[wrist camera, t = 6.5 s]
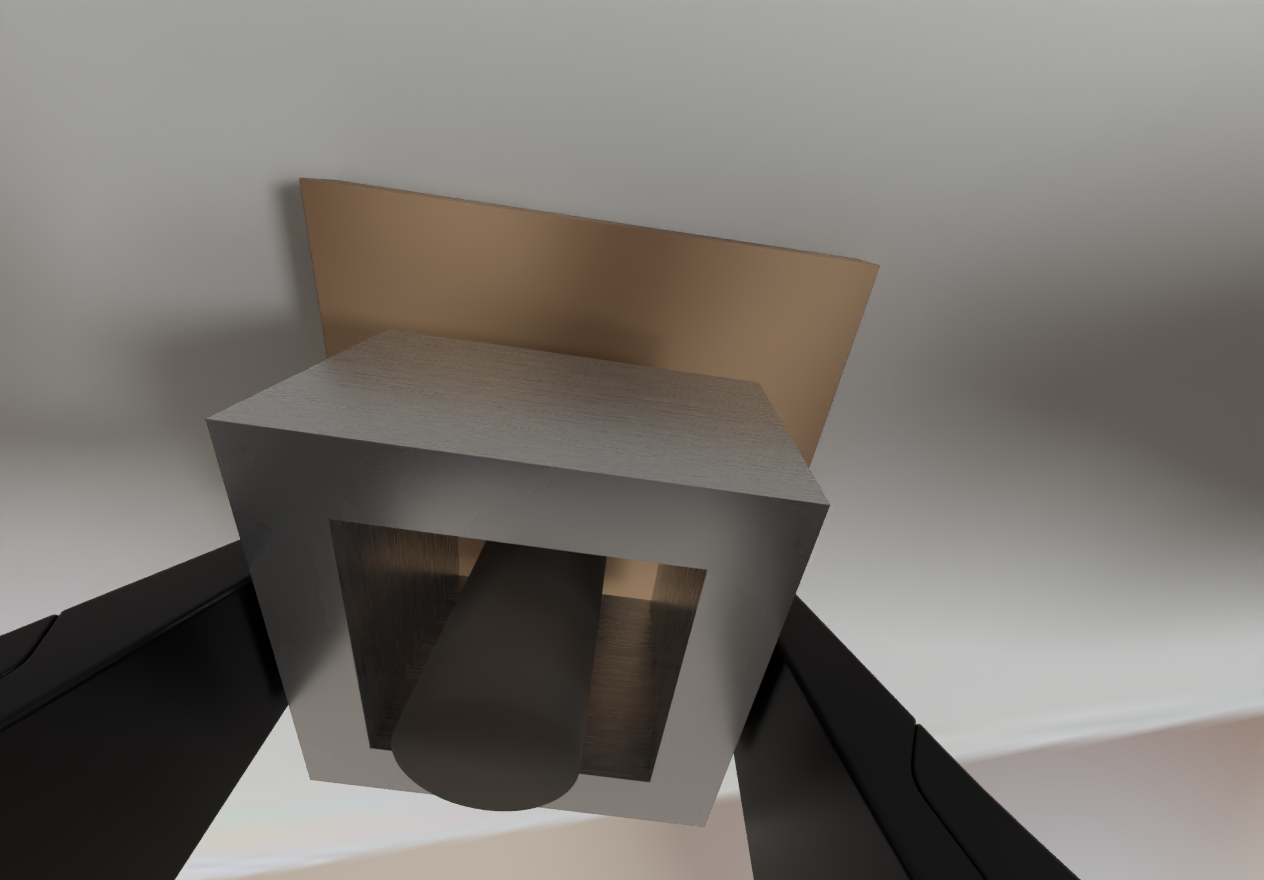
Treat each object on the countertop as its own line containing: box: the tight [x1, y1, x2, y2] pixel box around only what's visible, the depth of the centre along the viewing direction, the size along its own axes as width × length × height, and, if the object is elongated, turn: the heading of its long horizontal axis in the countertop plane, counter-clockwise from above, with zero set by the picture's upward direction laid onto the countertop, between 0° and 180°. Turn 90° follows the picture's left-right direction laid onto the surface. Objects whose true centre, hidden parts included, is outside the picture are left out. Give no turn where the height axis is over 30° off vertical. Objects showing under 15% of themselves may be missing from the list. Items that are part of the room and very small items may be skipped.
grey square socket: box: [206, 329, 830, 827], centre depth 8 cm, size 6×6×4 cm
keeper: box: [299, 178, 880, 811], centre depth 8 cm, size 10×10×7 cm
